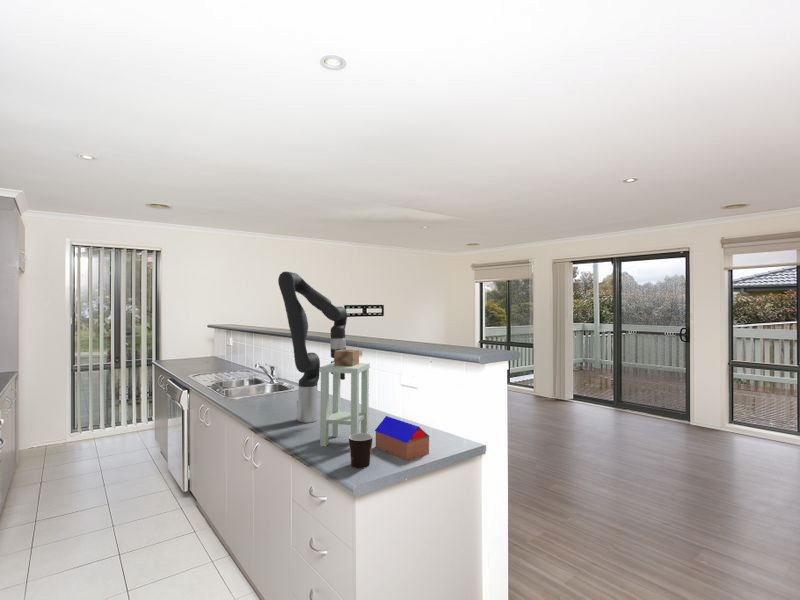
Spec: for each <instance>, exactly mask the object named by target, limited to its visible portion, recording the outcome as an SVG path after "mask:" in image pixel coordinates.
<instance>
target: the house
mask: <svg viewBox="0 0 800 600" xmlns="http://www.w3.org/2000/svg"><path fill="white" fill-rule="evenodd" d="M374 432H375V448H377V447H378V449H379V448H380V449H379V450H382V451H384V450H385V451H384V452H386V451H387V453H388V454H391V455H394V456H396V457H398V458H401V459H403V460H405V461H410V460H412V459H416V458H419V457H422V456H425V455H426V456H427V455H428V454H430V435H429V434H428V433H426V431H425V430H423V429H422V428H421V427H420V426H419V425H415V424H413V423H408V422H406V421H402V420H400V419H397V418H393V417H390V416H387V415H386V416H385V417H384V418H383V420H382V421H381V422H380V423H379V424H378V425H377V427H376V428H375V429H374Z"/></svg>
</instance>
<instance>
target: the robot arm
mask: <svg viewBox="0 0 800 600" xmlns="http://www.w3.org/2000/svg"><path fill="white" fill-rule="evenodd" d="M277 282H278V286H279V290H280V294H281V297H282V300H283V303H284V307H285V312H286V317H287V322H288V327H289V332H290V335H291V336H290V337H291V340H292V341H291V343H292V347H293V354H294V355H293V358H294V364H295V368H296V370H297V371H298V372H299V373H303V375H302V377H300V378H299V379H298V393H297V394H298V397H297V398H298V400H297V401H296V420H297V421H298V422H300V423H307V424H308V423H314V422H317V421H318V385H319V384H318V383H319V380H320V374H321V372H320V367H321V360H320V357H319V355H318V354H317V353H315V352H308V350H307V344H306V339H307V335H308V331H309V322H308V317H307V314H306V311H305V309H304V307H303V306H302V304H301V303H300V301H299V299H298V297H297V294H300V295H302V297H304V298H305V299H306V300H307V301H308V302H309V304H310V305H312V306H313V307H314V308H315V309H317V310H318V311H320V312H321V313H322V314H323V315H324V316H325V318H327V319H328V320H330V321H332V322H333V326H332V327H330V343H329V344H330V358H332V359H334V353H335V351H337V350H341V349H347V342H346V341H347V340H346V326H347V320H348V312H347V309H346V308H345V307H343V306H336V305H334V304H332V301H331V300H330V299H329V298H327V297H326V296H325V295H323V294H322V293H321V292H319V291H317V290H316V289H315V288H314V287H312V286H311V285H309V284H308V282H307V281H306V280H304V278H302V277H301V276H300V275H299V274H298V273H296V272H291V271H283V272H281V273H280V274H279V276H278V281H277ZM331 363H334V360H331V361H330V364H331ZM330 375H333V373H330ZM341 380H342V381H343V380H346V373H340V381H341Z"/></svg>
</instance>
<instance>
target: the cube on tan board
mask: <svg viewBox="0 0 800 600" xmlns="http://www.w3.org/2000/svg"><path fill="white" fill-rule="evenodd" d="M362 357H363V350H360V349H347V348H346V349H341V350H337V351H335V353H334V358H333V361H334V366H355V365H357V364H359V363H360V359H361V358H362Z"/></svg>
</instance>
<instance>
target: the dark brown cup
mask: <svg viewBox="0 0 800 600" xmlns="http://www.w3.org/2000/svg"><path fill="white" fill-rule="evenodd" d="M373 438H374V437H373V434H369V433H368V434H366V433H361V432H359V433H357V434H352V435H351V434H350V435H349V436H348V445H349V453H350V455H349V456H350V463H351V467H352V466H353V467H352V468H354V467H356V468H355V469H365V468H364V467H366V468H368V467H369V466H370V462H371V455H372V446H373Z"/></svg>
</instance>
